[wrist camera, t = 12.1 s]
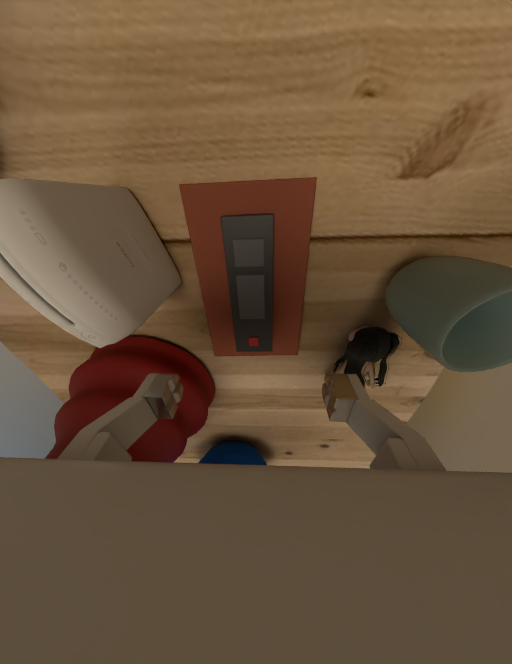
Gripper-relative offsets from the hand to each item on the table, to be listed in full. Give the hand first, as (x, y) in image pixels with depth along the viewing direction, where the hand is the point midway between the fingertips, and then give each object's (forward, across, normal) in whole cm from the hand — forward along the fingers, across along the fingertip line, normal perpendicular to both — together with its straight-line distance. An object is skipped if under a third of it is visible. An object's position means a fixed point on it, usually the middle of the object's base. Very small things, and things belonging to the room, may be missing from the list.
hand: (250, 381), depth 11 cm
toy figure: (+15, -13, +12) cm, 23 cm away
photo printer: (+14, +12, -5) cm, 19 cm away
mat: (+14, +1, 0) cm, 14 cm away
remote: (+14, +1, 0) cm, 14 cm away
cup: (+15, -17, 0) cm, 23 cm away
